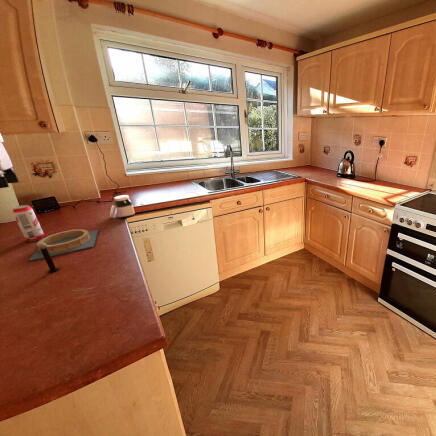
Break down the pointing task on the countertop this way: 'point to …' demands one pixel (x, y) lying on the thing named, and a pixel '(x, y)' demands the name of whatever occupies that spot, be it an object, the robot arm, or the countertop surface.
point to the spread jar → (122, 207)
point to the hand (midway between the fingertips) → (8, 185)
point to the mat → (88, 244)
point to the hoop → (67, 245)
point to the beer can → (28, 223)
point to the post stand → (47, 257)
